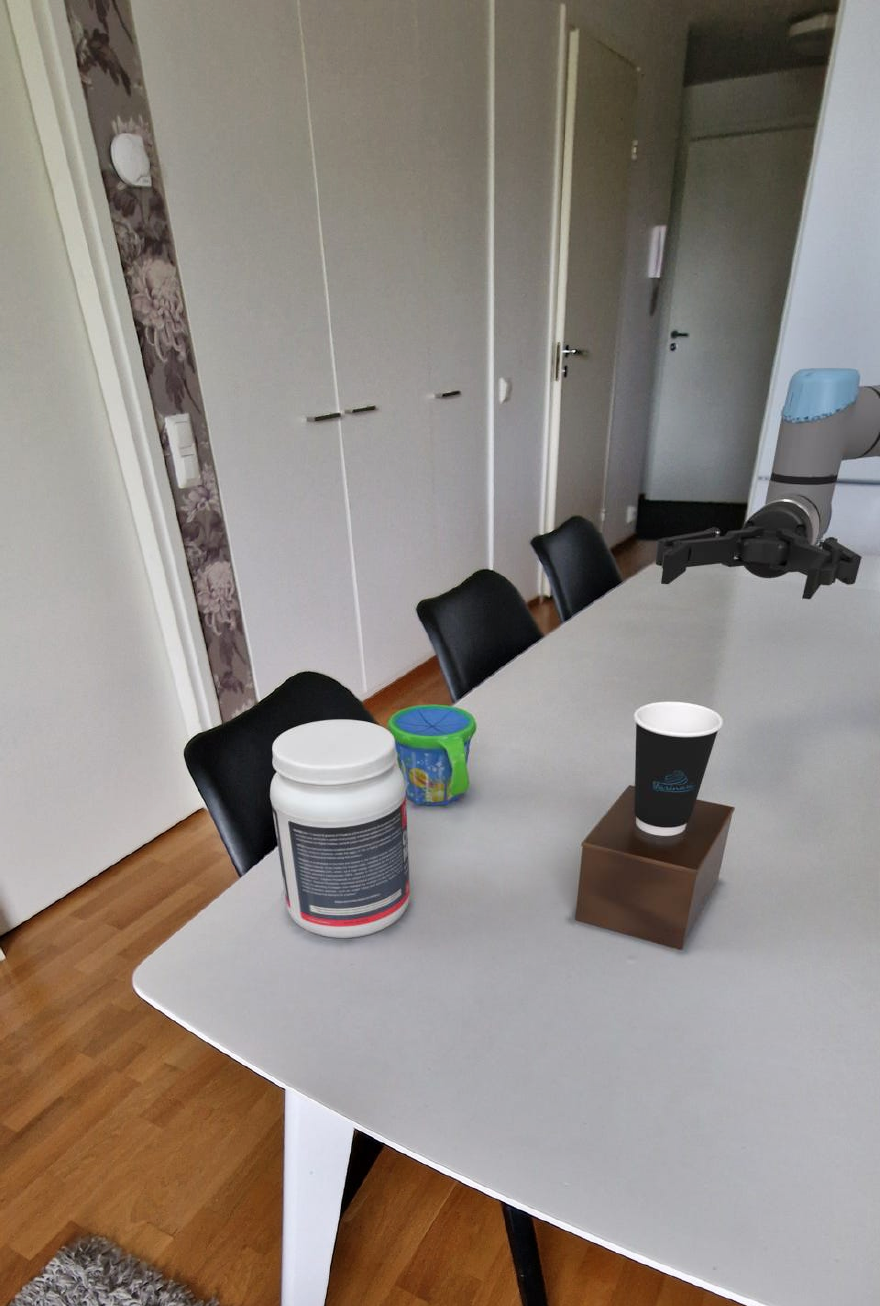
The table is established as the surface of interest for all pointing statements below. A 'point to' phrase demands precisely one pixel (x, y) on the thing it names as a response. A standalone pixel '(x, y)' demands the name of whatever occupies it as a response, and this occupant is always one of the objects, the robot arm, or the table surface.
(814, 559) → the robot arm
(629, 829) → the brown box
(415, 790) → the snack cup
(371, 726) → the supplement tub
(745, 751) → the table surface
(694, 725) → the dixie cup
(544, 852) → the table surface
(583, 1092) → the table surface
